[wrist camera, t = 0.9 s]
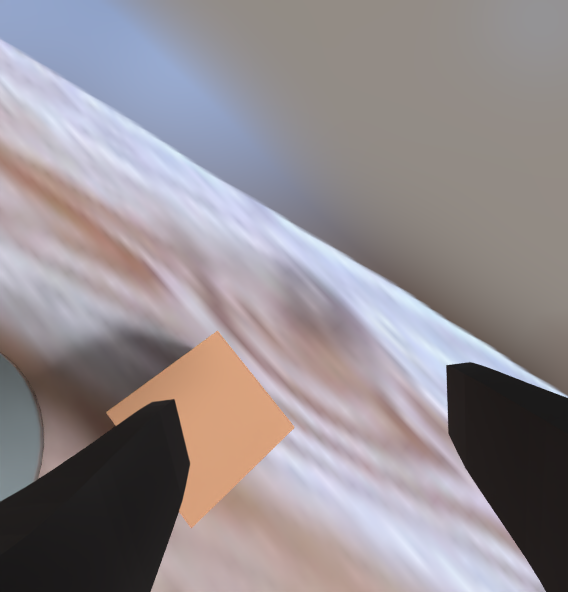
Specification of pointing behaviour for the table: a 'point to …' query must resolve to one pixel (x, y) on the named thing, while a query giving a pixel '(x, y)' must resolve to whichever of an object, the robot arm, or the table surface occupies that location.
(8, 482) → the dish
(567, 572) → the robot arm
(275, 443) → the cover
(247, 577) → the table surface
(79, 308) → the table surface
